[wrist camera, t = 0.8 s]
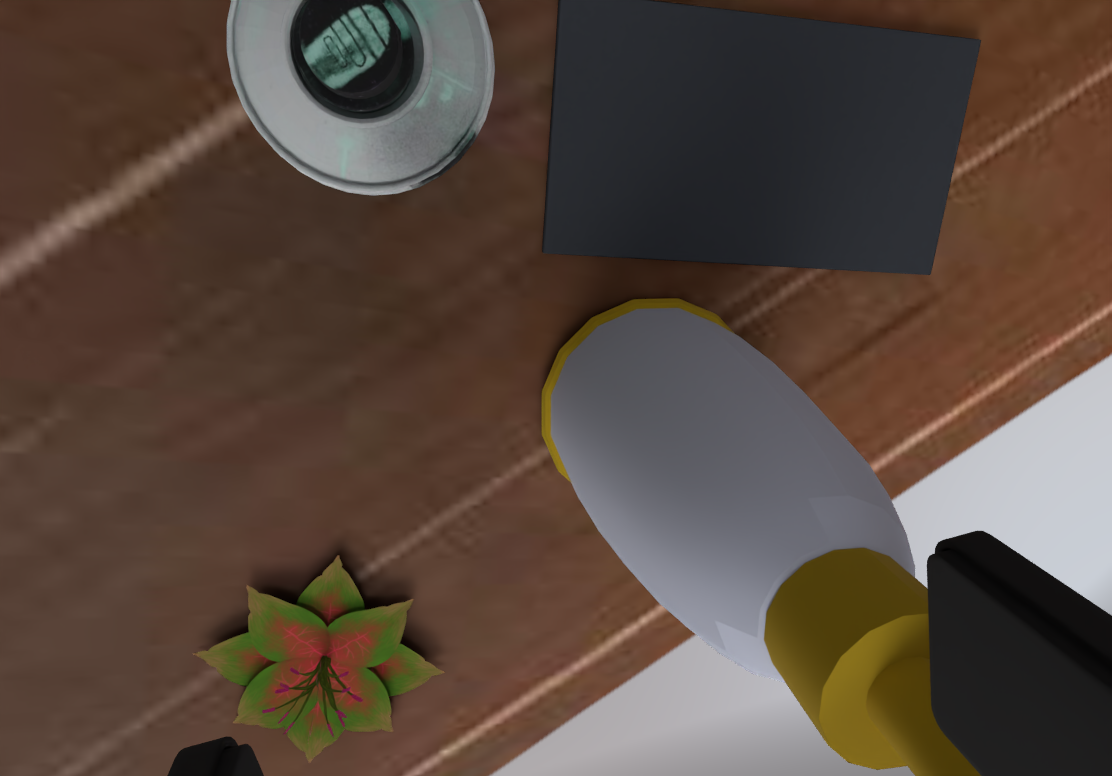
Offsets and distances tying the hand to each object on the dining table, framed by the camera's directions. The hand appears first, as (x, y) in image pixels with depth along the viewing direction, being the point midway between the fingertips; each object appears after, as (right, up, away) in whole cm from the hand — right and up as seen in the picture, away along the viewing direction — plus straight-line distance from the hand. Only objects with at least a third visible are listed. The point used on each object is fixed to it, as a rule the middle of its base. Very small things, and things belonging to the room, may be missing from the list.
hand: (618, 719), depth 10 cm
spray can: (-8, +16, +22) cm, 28 cm away
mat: (+9, +16, +24) cm, 30 cm away
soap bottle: (+4, +4, +27) cm, 28 cm away
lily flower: (-13, -10, +29) cm, 33 cm away
